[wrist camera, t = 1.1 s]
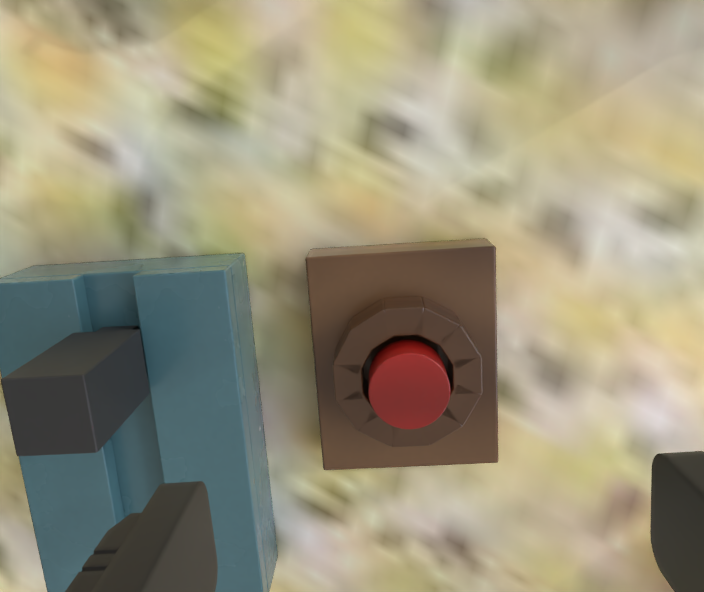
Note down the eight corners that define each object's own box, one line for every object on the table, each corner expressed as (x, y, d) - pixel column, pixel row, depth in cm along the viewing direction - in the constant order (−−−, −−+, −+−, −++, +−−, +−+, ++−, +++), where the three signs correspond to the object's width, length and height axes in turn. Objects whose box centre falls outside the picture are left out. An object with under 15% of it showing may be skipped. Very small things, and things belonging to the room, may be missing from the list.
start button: (366, 341, 26) (366, 355, 24) (444, 337, 26) (449, 351, 24) (371, 413, 27) (370, 432, 25) (446, 409, 27) (451, 428, 25)
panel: (310, 248, 29) (300, 265, 25) (486, 237, 28) (504, 253, 24) (326, 448, 31) (320, 492, 27) (489, 440, 31) (507, 484, 27)
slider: (87, 322, 27) (-1, 379, 20) (151, 319, 27) (83, 374, 20) (97, 384, 27) (16, 457, 21) (161, 381, 27) (97, 453, 21)
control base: (32, 265, 29) (-28, 288, 25) (245, 252, 29) (221, 273, 24) (90, 562, 33) (46, 628, 29) (278, 556, 33) (263, 621, 28)
